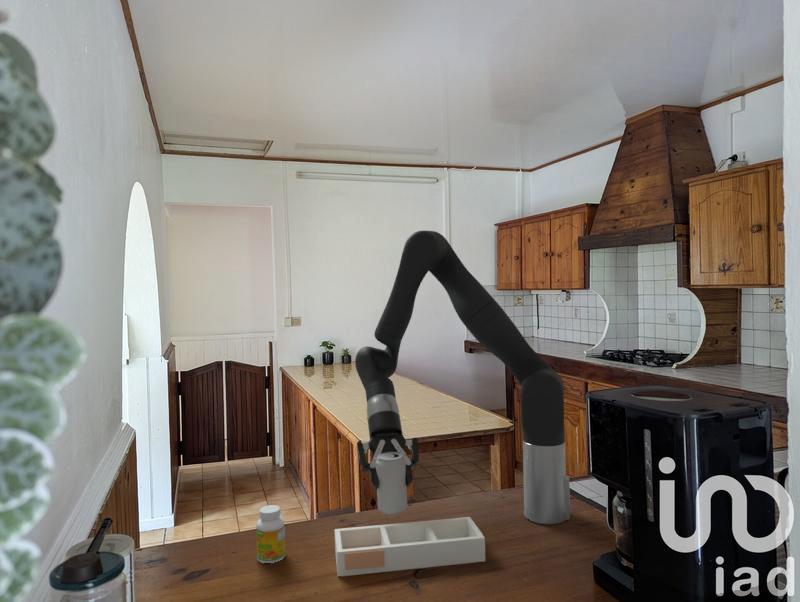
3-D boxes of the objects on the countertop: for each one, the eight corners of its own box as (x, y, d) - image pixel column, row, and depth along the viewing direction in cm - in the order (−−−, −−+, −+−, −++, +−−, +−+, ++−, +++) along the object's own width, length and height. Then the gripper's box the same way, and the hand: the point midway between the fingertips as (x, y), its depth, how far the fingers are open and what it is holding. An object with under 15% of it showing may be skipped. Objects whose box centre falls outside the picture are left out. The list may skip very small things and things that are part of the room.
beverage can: (407, 515, 117) (405, 459, 117) (376, 516, 117) (374, 460, 117) (407, 503, 123) (405, 450, 123) (378, 504, 124) (376, 451, 123)
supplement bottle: (251, 562, 108) (250, 512, 108) (267, 549, 113) (265, 502, 113) (275, 566, 106) (274, 515, 106) (290, 553, 111) (289, 505, 111)
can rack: (470, 538, 116) (470, 516, 116) (486, 562, 106) (485, 538, 106) (335, 551, 111) (334, 529, 111) (337, 577, 101) (337, 553, 101)
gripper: (353, 411, 126) (359, 480, 115) (415, 407, 128) (428, 474, 117) (352, 429, 132) (358, 497, 120) (412, 424, 134) (424, 490, 122)
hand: (392, 485), depth 119 cm, fingers closed on beverage can, 6 cm apart
